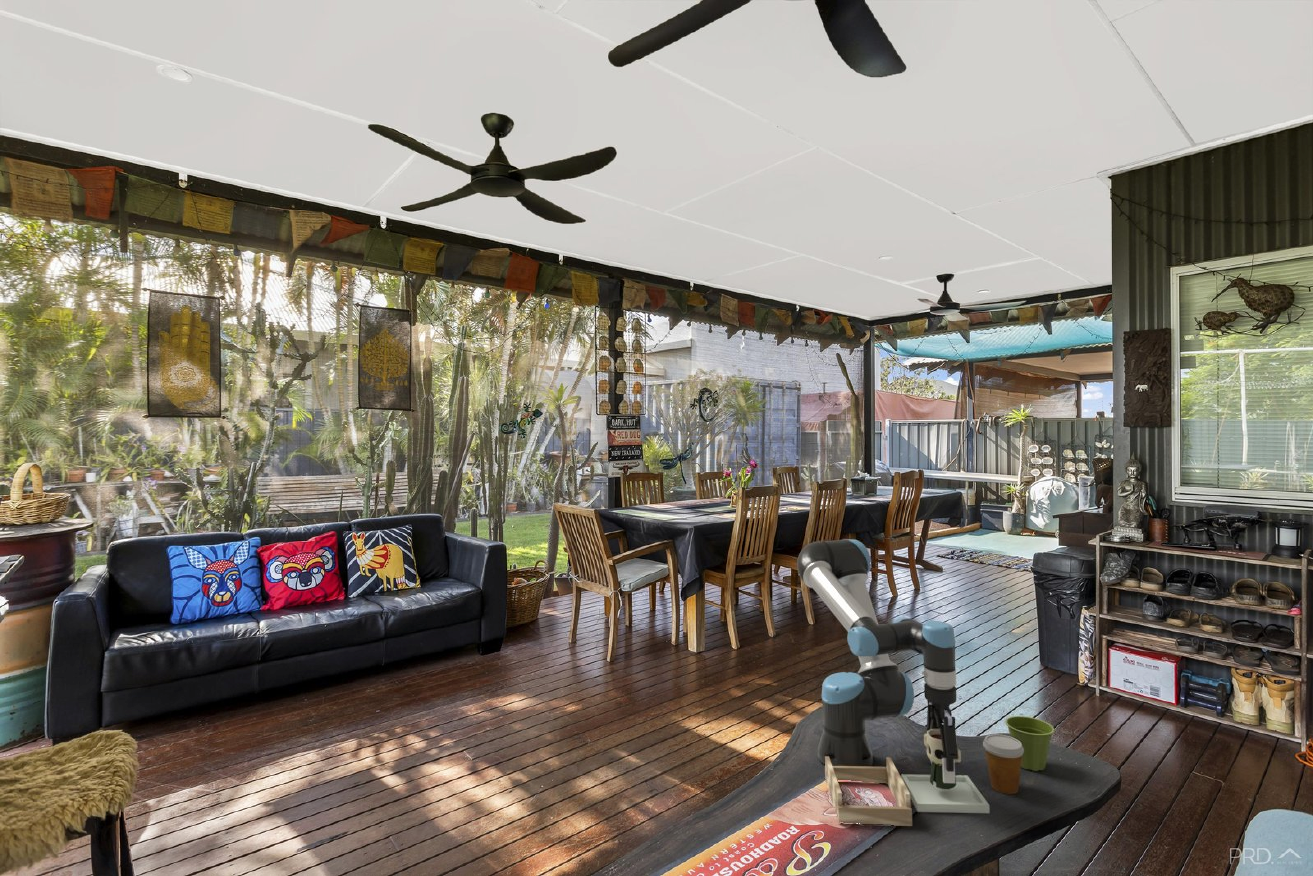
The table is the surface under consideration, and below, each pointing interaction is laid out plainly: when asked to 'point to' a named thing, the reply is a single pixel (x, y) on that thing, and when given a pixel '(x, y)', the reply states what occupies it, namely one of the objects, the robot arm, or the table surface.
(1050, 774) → the table surface
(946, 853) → the table surface
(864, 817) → the wooden frame
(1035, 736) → the plant pot
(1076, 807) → the table surface
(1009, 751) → the disposable coffee cup
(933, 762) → the character mug
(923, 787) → the tray
